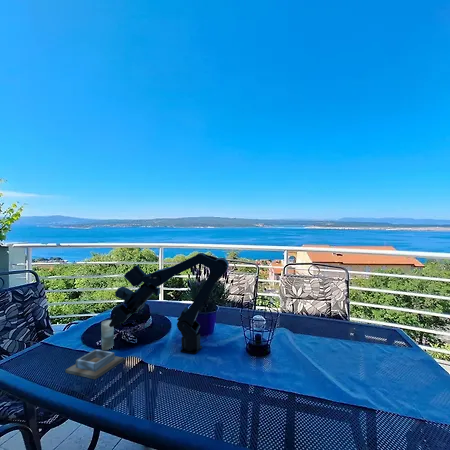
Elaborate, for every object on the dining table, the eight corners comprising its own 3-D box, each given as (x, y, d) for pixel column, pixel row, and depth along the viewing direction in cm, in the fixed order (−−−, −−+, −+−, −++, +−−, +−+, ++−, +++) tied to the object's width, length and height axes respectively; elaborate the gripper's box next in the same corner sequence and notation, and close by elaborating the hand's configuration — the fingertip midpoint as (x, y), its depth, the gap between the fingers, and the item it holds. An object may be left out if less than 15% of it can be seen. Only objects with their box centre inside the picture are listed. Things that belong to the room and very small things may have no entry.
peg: (116, 346, 111) (115, 320, 111) (107, 351, 107) (107, 324, 107) (107, 344, 113) (107, 319, 113) (99, 349, 109) (98, 323, 109)
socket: (123, 360, 99) (123, 350, 99) (95, 379, 87) (95, 368, 87) (96, 355, 104) (95, 346, 104) (65, 372, 91) (65, 362, 91)
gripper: (137, 276, 119) (113, 301, 119) (117, 285, 100) (88, 315, 101) (155, 294, 118) (130, 319, 119) (138, 307, 99) (109, 336, 100)
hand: (115, 321), depth 110 cm, fingers open, 9 cm apart
